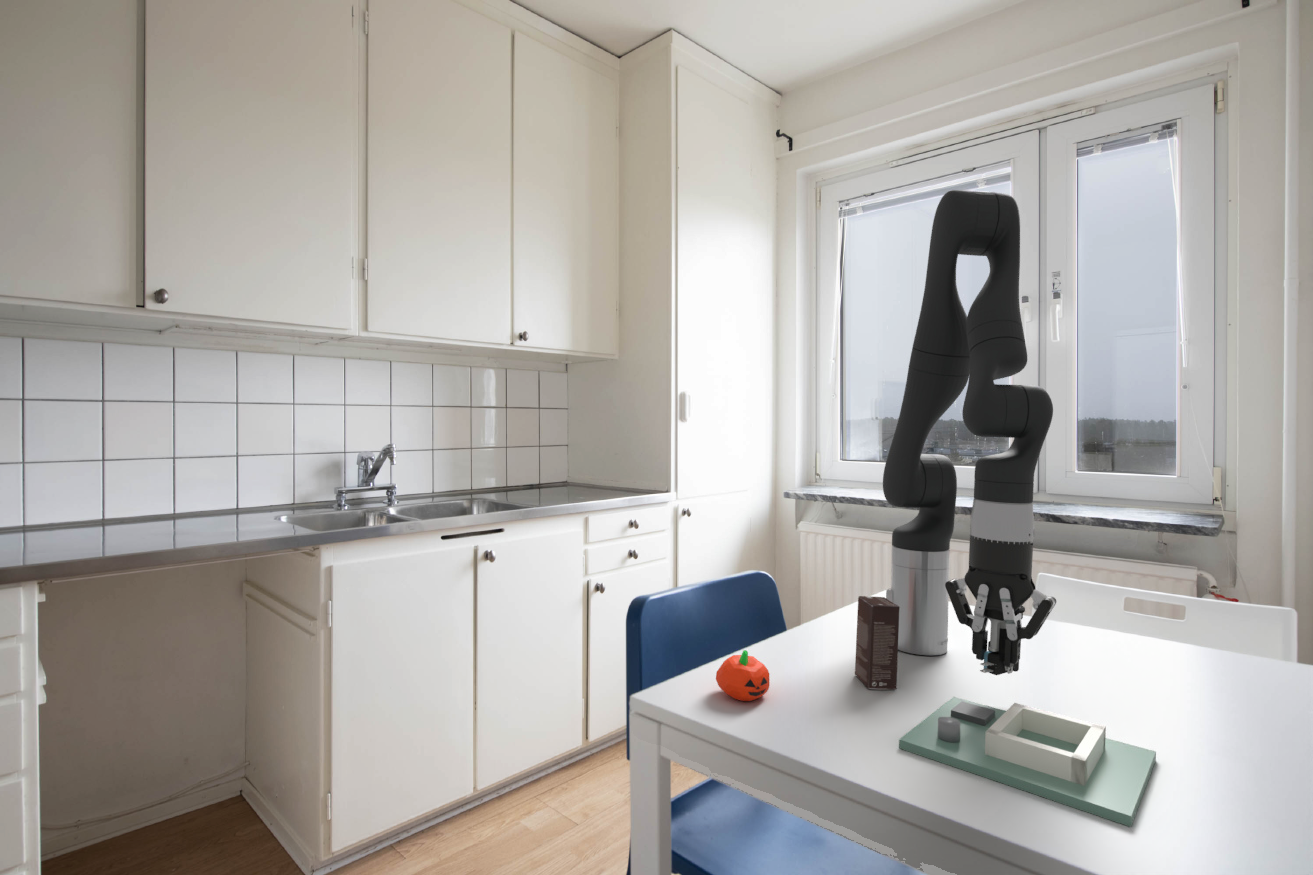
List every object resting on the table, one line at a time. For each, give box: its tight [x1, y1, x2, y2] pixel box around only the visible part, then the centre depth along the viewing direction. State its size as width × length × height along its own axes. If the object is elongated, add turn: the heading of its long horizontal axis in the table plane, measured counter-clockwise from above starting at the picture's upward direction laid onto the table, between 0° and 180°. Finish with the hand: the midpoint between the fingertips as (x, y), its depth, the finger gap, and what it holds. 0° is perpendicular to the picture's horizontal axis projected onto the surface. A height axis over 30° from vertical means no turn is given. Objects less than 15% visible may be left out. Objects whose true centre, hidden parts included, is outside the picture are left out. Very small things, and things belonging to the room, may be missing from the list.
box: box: [854, 595, 900, 691], centre depth 98 cm, size 6×4×12 cm
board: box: [898, 696, 1157, 828], centre depth 76 cm, size 22×18×4 cm
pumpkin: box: [715, 649, 770, 702], centre depth 92 cm, size 7×8×6 cm
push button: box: [979, 605, 1026, 676], centre depth 90 cm, size 7×5×10 cm
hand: (995, 661), depth 89 cm, fingers closed on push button, 3 cm apart
